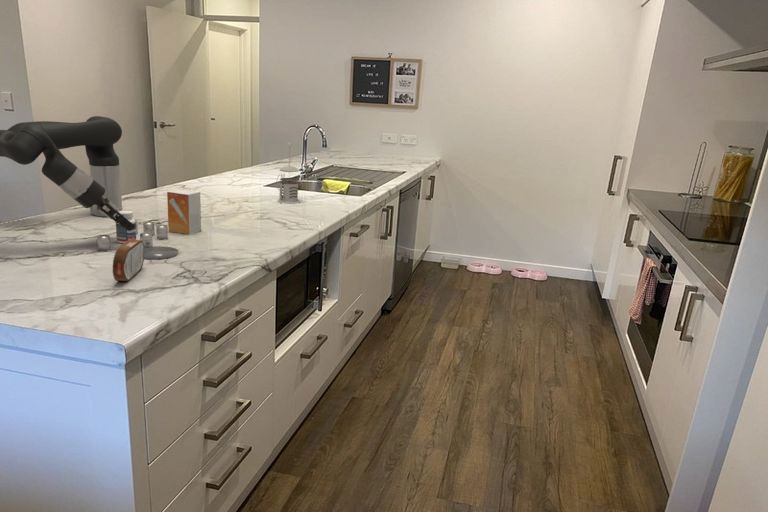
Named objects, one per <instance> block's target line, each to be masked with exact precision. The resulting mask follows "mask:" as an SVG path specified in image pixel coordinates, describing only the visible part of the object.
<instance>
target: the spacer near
mask: <svg viewBox="0 0 768 512" xmlns="http://www.w3.org/2000/svg"><path fill="white" fill-rule="evenodd" d="M96 243H97V244H96V245H97V251H98V252H100V251H106V252H109V251H108V250H110V249H111V238H110V235H109V234H99V235H97V236H96ZM110 251H111V250H110Z"/></svg>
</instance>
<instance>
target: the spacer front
mask: <svg viewBox="0 0 768 512" xmlns="http://www.w3.org/2000/svg"><path fill="white" fill-rule="evenodd" d="M155 229H156V230H155V231H156V233H155V234H156V240H158V239H159V241H164V239H166V240H168V239H169V235H168V234H169V228H168V224H157V225H155Z"/></svg>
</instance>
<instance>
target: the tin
mask: <svg viewBox="0 0 768 512" xmlns="http://www.w3.org/2000/svg"><path fill="white" fill-rule="evenodd" d="M144 262H145V259H144V244H143V242H142V241H140V239H136V240H133V239H130V240H128V241H127V242H125V243H122V244H121V245H119V246H118V247H117V249H116V250H115V253H114V255H113V260H112V275H113V279H114V280H115V281H116V282H129V281H131V280H132V279H133V278H134V277H135V276H136V275H137V274H138V273H139V272H141V271H142V268H143V266H144Z"/></svg>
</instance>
